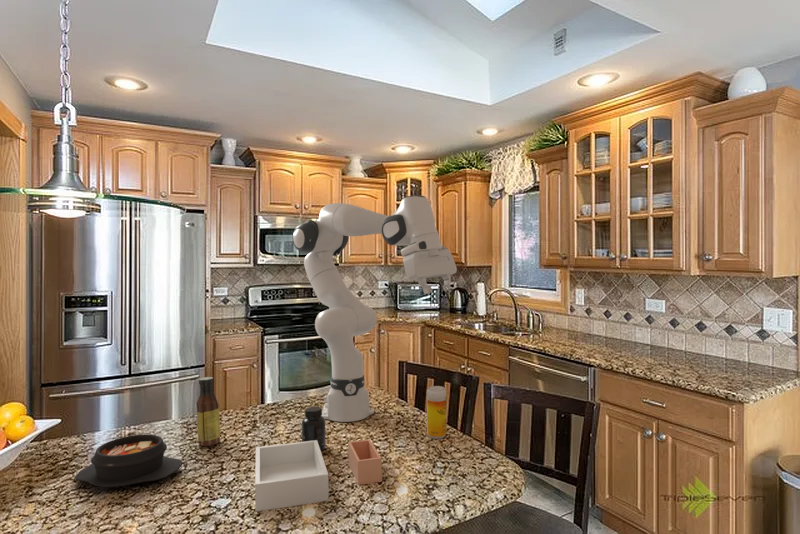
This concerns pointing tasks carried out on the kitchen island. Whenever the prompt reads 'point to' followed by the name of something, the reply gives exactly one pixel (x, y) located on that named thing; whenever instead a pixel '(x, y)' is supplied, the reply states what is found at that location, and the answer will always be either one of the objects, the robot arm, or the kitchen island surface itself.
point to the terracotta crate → (365, 462)
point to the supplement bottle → (314, 426)
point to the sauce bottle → (207, 414)
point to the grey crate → (290, 475)
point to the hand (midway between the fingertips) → (438, 291)
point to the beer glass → (436, 412)
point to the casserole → (129, 462)
